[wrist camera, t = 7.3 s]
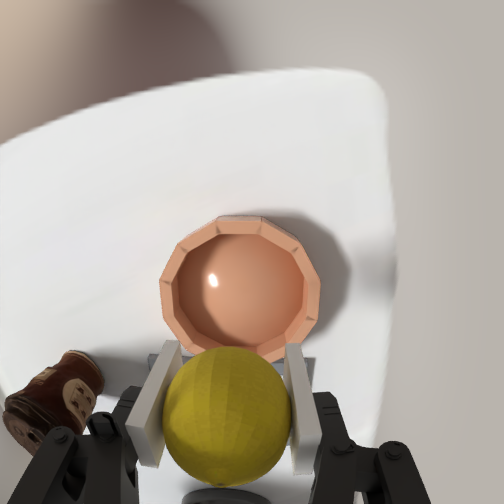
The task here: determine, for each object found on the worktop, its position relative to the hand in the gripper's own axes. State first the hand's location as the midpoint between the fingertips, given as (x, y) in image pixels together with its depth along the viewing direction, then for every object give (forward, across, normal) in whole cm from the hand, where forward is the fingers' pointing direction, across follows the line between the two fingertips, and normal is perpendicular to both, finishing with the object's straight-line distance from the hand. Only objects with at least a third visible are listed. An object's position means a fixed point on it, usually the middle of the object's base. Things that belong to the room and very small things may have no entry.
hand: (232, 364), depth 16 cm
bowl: (+12, 0, 0) cm, 12 cm away
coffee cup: (+12, +19, +12) cm, 25 cm away
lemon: (0, 0, 0) cm, 0 cm away
